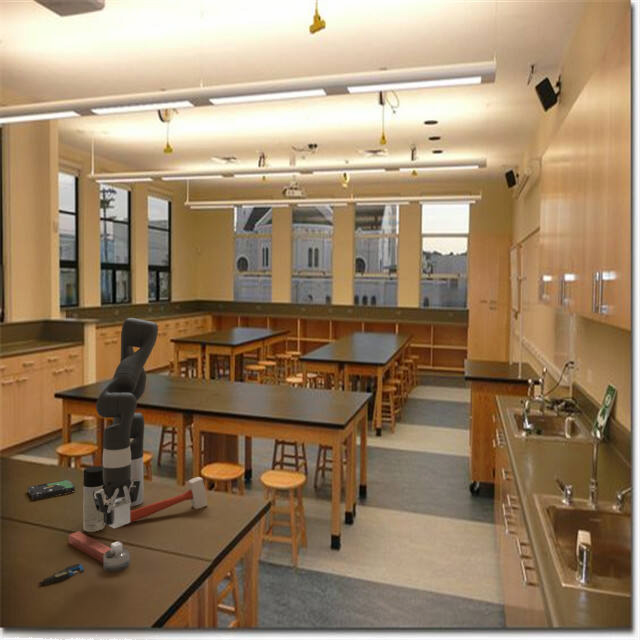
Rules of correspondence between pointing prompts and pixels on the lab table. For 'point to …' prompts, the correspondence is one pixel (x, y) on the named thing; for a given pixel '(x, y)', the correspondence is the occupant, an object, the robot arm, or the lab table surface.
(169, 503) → the mallet
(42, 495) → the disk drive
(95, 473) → the spray can
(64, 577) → the micrometer
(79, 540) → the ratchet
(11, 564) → the lab table surface
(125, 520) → the cube with square hole
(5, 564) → the lab table surface
